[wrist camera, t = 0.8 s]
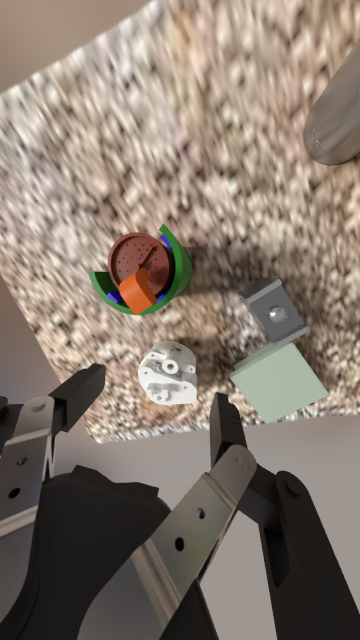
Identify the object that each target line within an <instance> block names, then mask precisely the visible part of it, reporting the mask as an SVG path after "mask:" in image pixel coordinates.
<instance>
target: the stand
mask: <svg viewBox="0 0 360 640" xmlns="http://www.w3.org/2000/svg"><path fill="white" fill-rule="evenodd" d="M233 366H234V369H235V371H234V372H233V373H231V374H229V376H230V379H231V380H232V381H233V382H234V384H235V385H236V386H237V387H238V389H239V390H240V391H241V392H242V394H243V395H244V396H245V397H246V399H247V400H248V401H249V403H250V404H251V405H252V406H253V408H254V409H255V410H256V411H257V413H258V414H259V415H260V416H261V418H262V419H263V420H264V421H265V423H266V424H268V423H270V422H272V421H274V420H276V419H279V418H281V417H283V416H285V415H287V414H289V413H291V412H293V411H296V410H298V409H300V408H302V407H304V406H306V405H308V404H311V403H313V402H315V401H317V400H319V399H321V398H323V397H325V396H328V395H329V394H328V392H327V391H326V389H325V388H324V386H323V385H322V384H321V382H320V381H319V379H318V378H317V376H316V375H315V374H314V372H313V371H312V369H311V368H310V366H309V365H308V364H307V362H306V361H305V359H304V358H303V357H302V355H301V354H300V352H299V351H298V349H297V348H296V347H295V345H294V344H293V342H292V341H290V342H288V343H286V344H284V345H282V346H280V347H278V348H277V347H276V346H275V345H274V344H273V343H270V344H268V345H267V346H265V347H263V348H262V349H260V350H258V351H257V352H255V353H253V354H252V355H250V356H248V357H246V358H245V359H243V360H241V361H240V362H238V363H236V364H235V365H233Z"/></svg>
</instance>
